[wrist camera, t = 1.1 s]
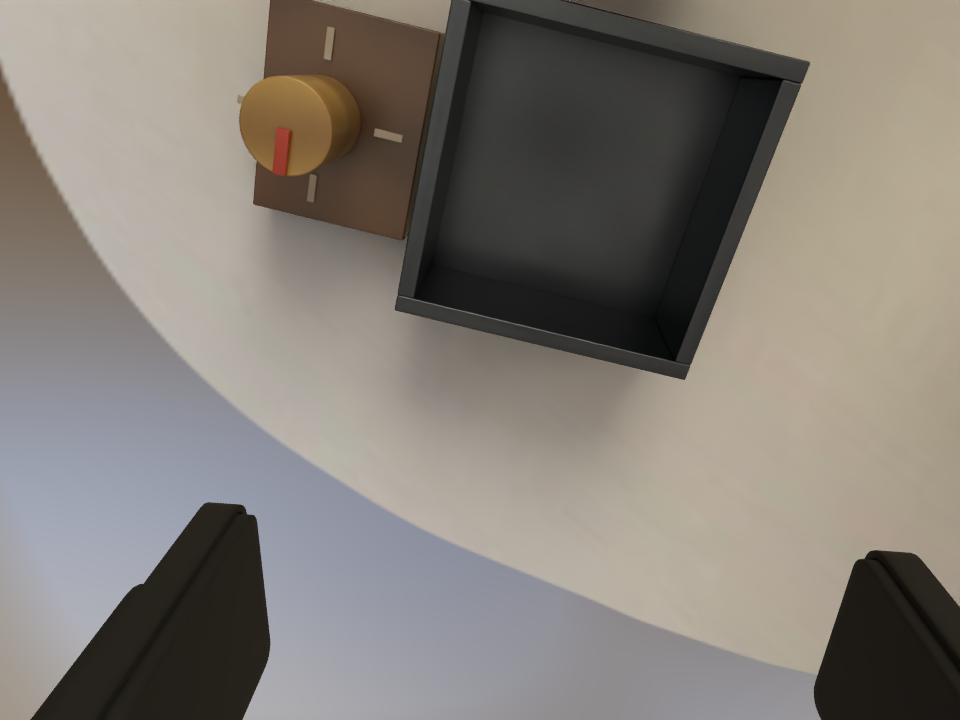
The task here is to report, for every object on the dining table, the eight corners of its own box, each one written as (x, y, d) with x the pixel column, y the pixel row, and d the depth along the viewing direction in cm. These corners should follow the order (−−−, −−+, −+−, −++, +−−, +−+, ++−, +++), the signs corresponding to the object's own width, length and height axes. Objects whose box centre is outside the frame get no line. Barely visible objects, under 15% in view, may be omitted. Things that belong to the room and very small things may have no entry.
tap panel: (267, -11, 33) (245, -17, 30) (447, 34, 33) (440, 32, 31) (250, 191, 37) (230, 199, 35) (411, 230, 37) (402, 241, 35)
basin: (472, -9, 32) (456, -27, 26) (757, 62, 32) (811, 62, 26) (418, 269, 38) (394, 310, 32) (660, 328, 38) (685, 380, 32)
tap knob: (284, 65, 32) (239, 65, 27) (367, 85, 32) (336, 89, 27) (276, 150, 33) (232, 164, 29) (354, 169, 34) (323, 187, 29)
